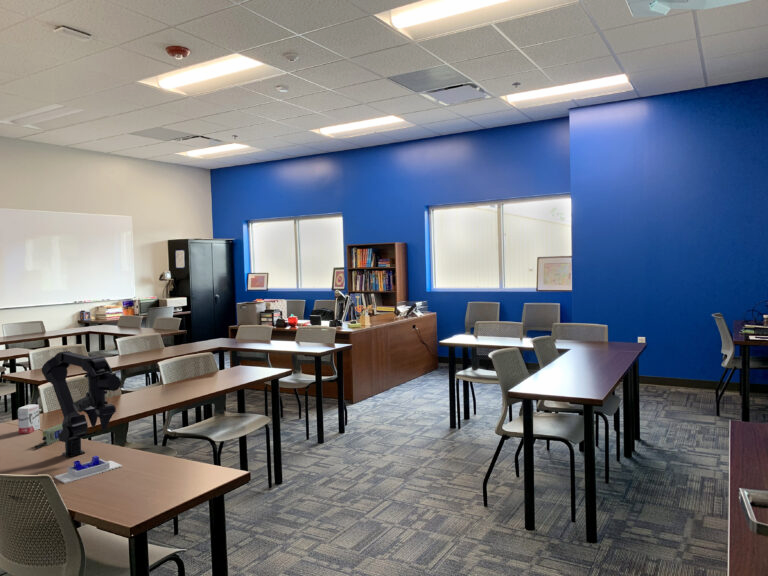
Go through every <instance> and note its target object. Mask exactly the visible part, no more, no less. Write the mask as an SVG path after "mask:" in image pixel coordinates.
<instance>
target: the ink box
mask: <svg viewBox="0 0 768 576" xmlns="http://www.w3.org/2000/svg"><path fill="white" fill-rule="evenodd" d="M17 419H18V420H17V421H18V423H17V424H18V434H20V435H21V434H23V433H24V434H30V433H34V432H35V431H38V430H40V429H41V425H40V405H39V404H29V403H28V404H26V405H24V406H21V407H18V409H17ZM24 434H23V435H24Z"/></svg>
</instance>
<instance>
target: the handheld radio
mask: <svg viewBox="0 0 768 576" xmlns="http://www.w3.org/2000/svg"><path fill="white" fill-rule="evenodd" d="M62 423H63V422H62ZM62 423H59V424H57V425H55V426H52V427H49V428H46V429H44V430H41V434H42V441H43V442H42V443H38V444H36V445H35V446H34V449H39V448H41V447H44V446H50V445H52V444H51V443H53V444H55V443H57V442H59V441H58V440H59V437H58V436H59V434H60V433H61V432H62V430H63V427H62ZM56 441H57V442H56ZM54 442H55V443H54ZM49 444H50V445H49Z"/></svg>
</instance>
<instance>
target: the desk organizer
mask: <svg viewBox="0 0 768 576" xmlns="http://www.w3.org/2000/svg"><path fill="white" fill-rule="evenodd" d="M91 461H92V460H90V461H87V462H83V463H81V465H82V466H85V465H88V464H89V463H90V462H91ZM119 467H120V468H122V467H123V465H122V464H120V463H118V462H116V461H113V460H104V459H102V458H99V465H97V466H94V467H90V468H87V469H83V470H79V471H77V470H75V469H74V465H71V466H68V467H67V472H65V473H61V474H58V475H54V479H56V480H58V481H60V482H62V483H63V484H68V483H71V482H74V481H78V480H82V479H85V478H88V477H92V476H96V475H98V474H99V475H100V474H103V473H106V472H110V471H113V470H116V468H117V469H119ZM112 469H113V470H112ZM109 470H110V471H109ZM102 472H103V473H102Z"/></svg>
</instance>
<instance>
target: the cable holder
mask: <svg viewBox="0 0 768 576" xmlns="http://www.w3.org/2000/svg"><path fill="white" fill-rule="evenodd" d="M99 459H100V456H98V455H94V456H92V458H91V460H90V461H91V462H90V461H89V462H90V463H89V464H88V465H85V466H82V465H81V464H82V463H81V461H80V460H75V461H73V466H74V469H75V470H77V471H79V470H83V469H87V468H90V467H94V466H97V465H99Z"/></svg>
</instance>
